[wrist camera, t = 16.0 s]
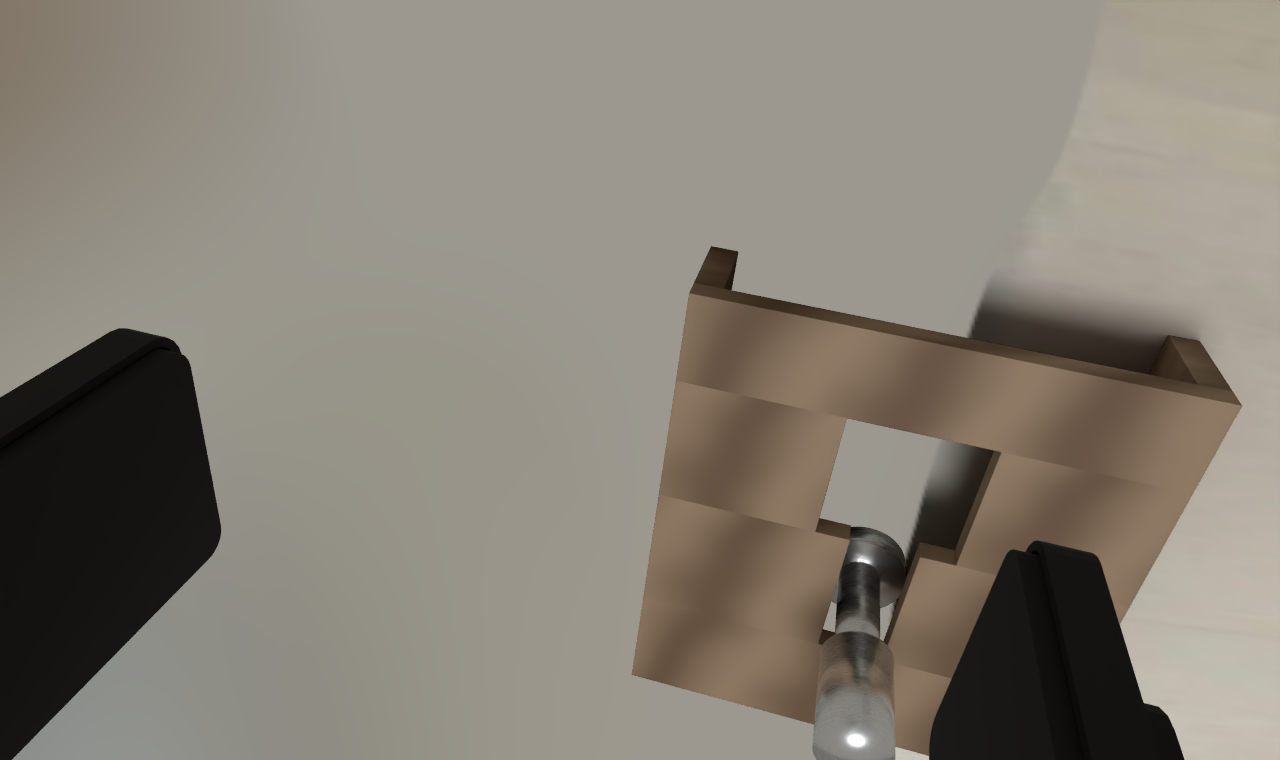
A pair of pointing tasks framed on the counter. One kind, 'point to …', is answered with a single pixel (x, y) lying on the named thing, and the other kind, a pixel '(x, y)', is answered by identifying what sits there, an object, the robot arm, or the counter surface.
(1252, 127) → the counter surface
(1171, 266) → the counter surface
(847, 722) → the keyhole bolt
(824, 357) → the keyhole plate
